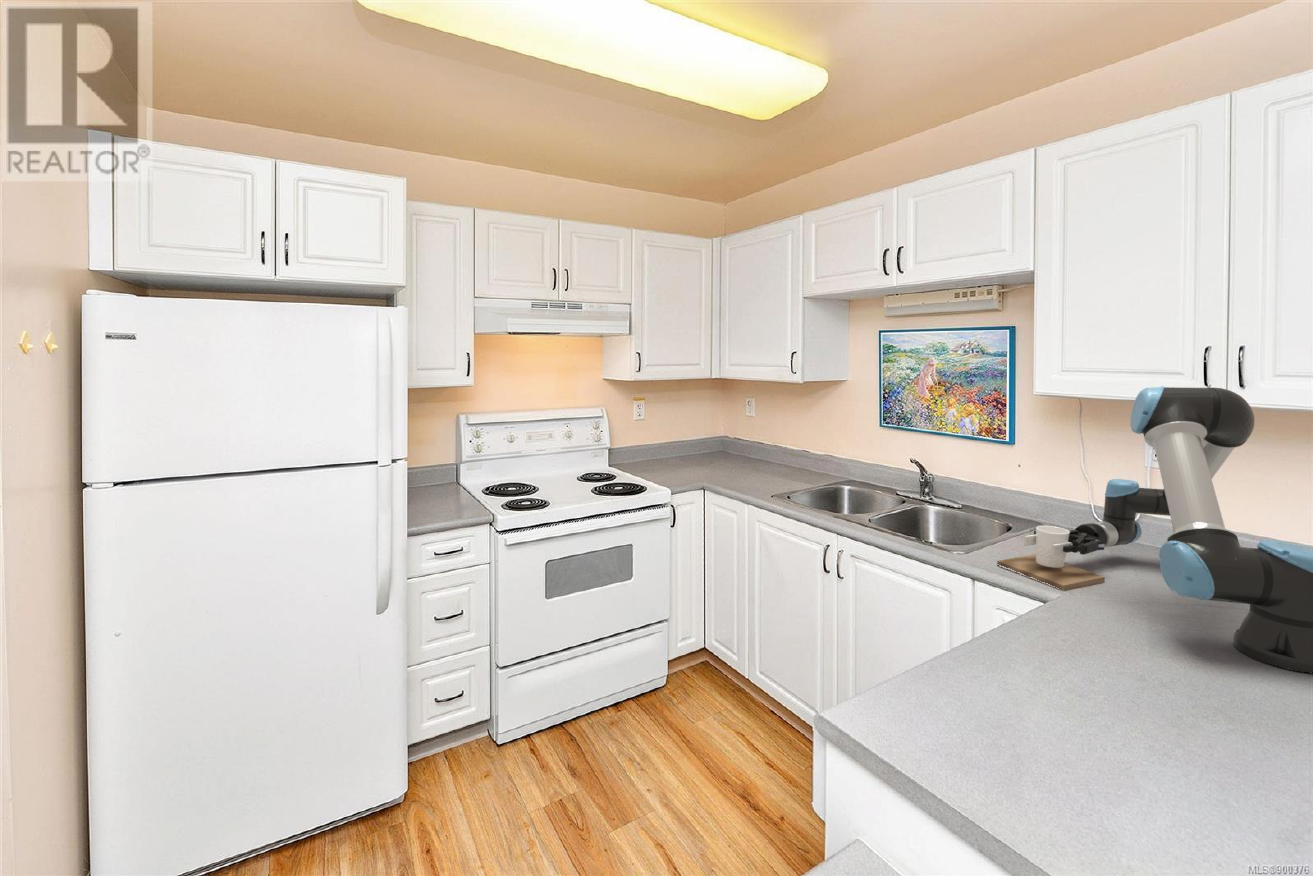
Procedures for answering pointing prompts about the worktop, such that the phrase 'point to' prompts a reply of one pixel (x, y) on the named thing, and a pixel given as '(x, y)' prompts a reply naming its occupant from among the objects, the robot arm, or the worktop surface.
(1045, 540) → the white cup
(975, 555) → the worktop surface
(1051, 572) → the walnut board
